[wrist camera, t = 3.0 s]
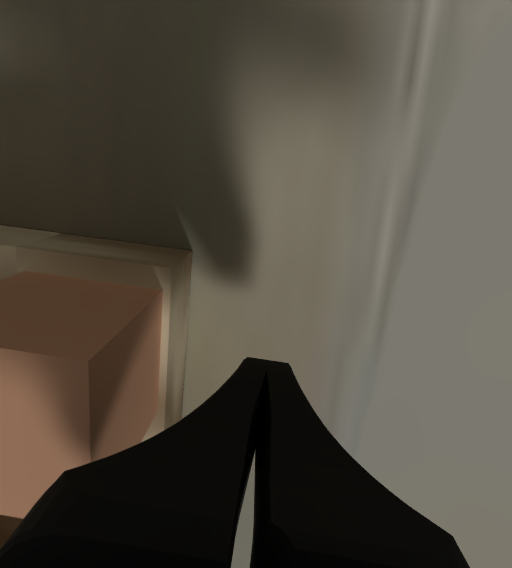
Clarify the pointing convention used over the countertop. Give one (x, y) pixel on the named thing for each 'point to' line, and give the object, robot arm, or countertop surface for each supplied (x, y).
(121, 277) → the cubby shelf
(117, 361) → the block
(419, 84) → the countertop surface
